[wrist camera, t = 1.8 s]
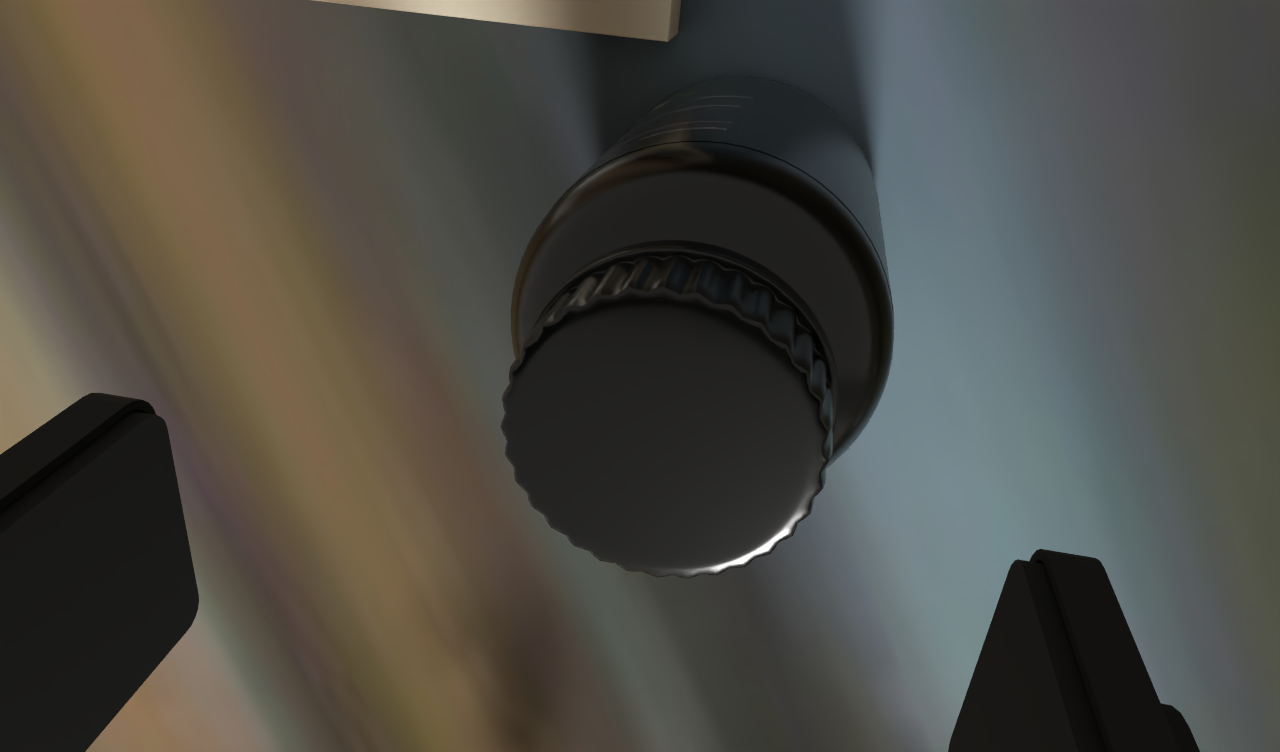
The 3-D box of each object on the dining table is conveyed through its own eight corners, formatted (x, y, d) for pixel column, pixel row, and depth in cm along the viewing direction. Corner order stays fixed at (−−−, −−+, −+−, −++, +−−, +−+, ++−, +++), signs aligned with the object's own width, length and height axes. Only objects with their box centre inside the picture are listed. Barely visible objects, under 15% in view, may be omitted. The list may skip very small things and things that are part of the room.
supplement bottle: (924, 265, 23) (992, 562, 13) (689, 370, 26) (586, 688, 16) (801, 10, 21) (764, 119, 11) (558, 152, 24) (338, 350, 13)
